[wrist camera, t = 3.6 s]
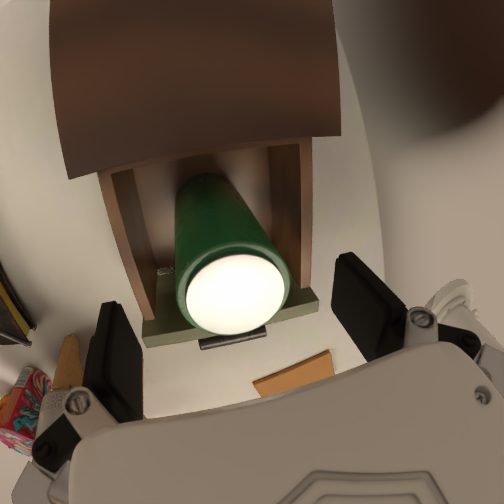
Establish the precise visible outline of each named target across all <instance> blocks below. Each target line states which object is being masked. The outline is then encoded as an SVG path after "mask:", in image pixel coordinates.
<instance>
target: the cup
mask: <svg viewBox="0 0 504 504" xmlns="http://www.w3.org/2000/svg"><path fill="white" fill-rule="evenodd" d="M50 391H51V380H50V379H49V377H48V376H47V375H46V374H44V373H43V372H41V371H40V370H38V369H35V368H32V367H25V368H23V370H22V372H21V374H20V376H19V378H18V380H17V382H16V384H15V386H14V388H13V390H12V392H11V395H10V397H9V399H8V401H7V404H6V406H5V409H4V411H3V413H2V416H1V418H0V441H1V442H3V443H4V444H6V445H7V446H8V447H10V448H12V449H14V450H15V451H17V452H19V453H22V454H24V455H26V456H29V457H32V445H33V443H34V441H35V437H36V430H37V424H38V419H39V413H40V408H41V403H42V399H43V397H44V395H46V394H47V393H48V392H50ZM32 458H33V457H32Z"/></svg>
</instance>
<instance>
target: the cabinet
mask: <svg viewBox="0 0 504 504" xmlns="http://www.w3.org/2000/svg"><path fill="white" fill-rule="evenodd" d="M49 49H50V68H51V81H52V91H53V99H54V107H55V114H56V120H57V127H58V132H59V138H60V143H61V148H62V153H63V158H64V162H65V166H66V171H67V175H68V179H69V180H70V179H74V178H77V177H80V176H84V175H87V174H91V173H94V172H98V171H102V170H105V169H109V168H113V167H117V166H121V165H125V164H129V163H134V162H138V161H142V160H147V159H152V158H156V157H161V156H166V155H171V154H177V153H182V152H188V151H193V150H199V149H206V148H212V147H219V146H226V145H233V144H241V143H250V142H259V141H268V140H279V139H292V138H307V137H327V136H341V108H340V84H339V68H338V54H337V43H336V32H335V23H334V15H333V7H332V0H50V15H49Z"/></svg>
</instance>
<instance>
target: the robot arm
mask: <svg viewBox="0 0 504 504" xmlns="http://www.w3.org/2000/svg"><path fill="white" fill-rule="evenodd" d="M405 306H406V305H405V304H404V303H403V302H402V301H401V300H400V299H399V298H398V297H397V296H396V295H395V294H394V293H393V292H392V291H391V290H390V289H389V288H388V287H387V286H386V285H385V284H384V282H383V281H382V280H381V279H380V278H379V277H378V276H377V275H376V274H375V273H374V272H373V271H372V270H371V269H370V268H369V267H368V266H367V265H366V264H364V263H363V262H362V261H361V260H360V259H359V258H358V257H357V256H356V255H355V254H354V253H353V252H348V253H344V254H340V255H339V258H337V259H336V262H335V273H334V282H333V291H332V300H331V308H332V311H333V313H334V314H335V315H336V317H337V318H338V320H339V321H340V323H341V324H342V326H343V327H344V328H345V330H346V331H347V333H348V334H349V336H350V337H351V339H352V340H353V342H354V343H355V344H356V346H357V347H358V349H359V350H360V352H361V353H362V355H363V356H364V358H365V359H366V361H367V362H368V363H365V364H363V365H360V366H358V367H355V368H353V369H350V370H347V371H345V372H342V373H339V374H336V375H334V376H331V377H328V378H325V379H322V380H319V381H316V382H313V383H310V384H307V385H303V386H300V387H297V388H294V389H290V390H287V391H283V392H280V393H276V394H273V395H269V396H265V397H261V398H257V399H253V400H249V401H245V402H241V403H237V404H232V405H228V406H223V407H218V408H213V409H208V410H203V411H197V412H191V413H185V414H179V415H173V416H166V417H160V418H152V419H144V420H143V393H142V363H143V353H142V348H141V346H140V344H139V342H138V340H137V338H136V336H135V334H134V331H133V329H132V327H131V325H130V323H129V321H128V319H127V316H126V314H125V312H124V310H123V308H122V305H121V304H117V303H116V301H111V302H105V303H102V305H101V309H100V313H99V318H98V322H97V327H96V331H95V336H92V337H91V339H90V343H89V348H88V353H87V358H86V364H85V369H84V375H83V382H82V387H76V388H73V389H71V390H70V391H68V392H67V393H66V395H65V396H64V398H63V401H62V410H63V412H64V413H63V414H62V415H61V416H60V417H59V418H58V419H57V420H56V421H55V422H54V423H52V424H51V425H50V426H49V427H48V428H47V429H46V430H45V431H44V432H43V433H42V434H41V435H40V436H39V437H37V439H36V440H35V441H34V443H33V445H32V457H33V460H32V462H30V461H28V463H27V465H26V466H25V468H24V470H23V472H22V474H21V476H20V477H19V479H18V481H17V483H16V485H15V487H14V489H13V492H12V502H13V504H504V348H503V346H502V345H501V344H500V343H499V342H498V341H497V340H496V339H495V338H494V337H493V336H492V335H491V334H490V333H489V331H488V330H487V329H486V328H485V327H484V326H483V325H482V324H481V323H480V322H479V321H478V320H477V319H478V318H477V314H478V310H477V309H474V310H473V311H470V310H469V309H468V308H467V307H468V301H467V300H466V299H465V298H464V297H462V296H460V297H457V298H455V299H453V300H452V301H450V302H449V303H448V304H447V305H446V306H445V307H444V308H443V309H442V310H441V311H440V312H439V313H438V314H437V316H435V314H434V313H433V312H432V311H431V310H429V309H427V308H424V307H413V308H411V309H409V310H407V308H406V307H405Z"/></svg>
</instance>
